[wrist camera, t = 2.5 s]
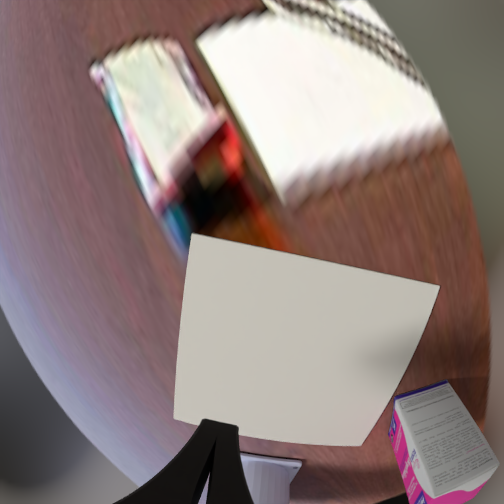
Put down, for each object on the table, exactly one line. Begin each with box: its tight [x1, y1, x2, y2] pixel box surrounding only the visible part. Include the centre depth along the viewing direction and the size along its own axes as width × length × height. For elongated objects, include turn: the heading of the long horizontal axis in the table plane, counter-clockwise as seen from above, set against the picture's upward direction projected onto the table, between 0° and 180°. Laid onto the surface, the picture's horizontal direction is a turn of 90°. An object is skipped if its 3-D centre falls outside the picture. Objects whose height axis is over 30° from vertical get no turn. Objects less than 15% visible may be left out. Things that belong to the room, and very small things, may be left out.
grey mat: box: [174, 233, 440, 446], centre depth 20 cm, size 17×18×1 cm
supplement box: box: [388, 380, 500, 504], centre depth 15 cm, size 6×6×12 cm
